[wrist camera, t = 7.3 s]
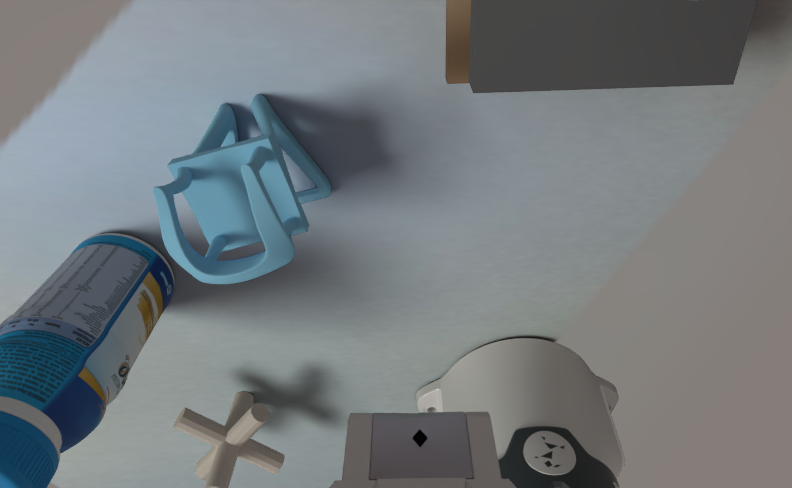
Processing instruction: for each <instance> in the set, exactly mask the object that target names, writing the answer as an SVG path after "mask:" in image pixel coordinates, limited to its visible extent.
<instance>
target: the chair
mask: <svg viewBox="0 0 792 488" xmlns="http://www.w3.org/2000/svg"><path fill="white" fill-rule="evenodd" d="M251 108H252V111H253V114H254V117H255V119H256V121H257V124H258V126H259V128H260V131H261V133H262V136H258V137H254V138H251V139H247V140H244V141H241V142H238V132H237V125H236V119H235V115H234V112H233V110H232V108H231V107H230V106H229V105H227V104H222V105H221V106H220V108H219V110H218V112H217V114H216V115H215V117H214V119H213V121H212V123H211V124H210V126H209V128H208V130H207V131H206V133H205V135H204V136H203V138H202V140H201V141H200V143H199V144H198V146H197V148H196V149H195V151H194V152H193V154H191V155H187V156H183V157H179V158H176V159H172V160H171V161H170V163H169V164H168V165H167V166H168V168H169V170H170V171H171V173H172V175H173V177H174V179H175V181H173V182H172V183H170V184H167V185H165V186H158V187H154V188H153V194H154V197H155V200H156V204H157V208H158V214H159V221H160V228H161V234H162V238H163V242H164V245H165V247H166V249H167V251H168V253H169V254H170V256H171V257H172V258H173V259H174V260H175V261H176V262H177V263H178V264H179V265H180V266H181V267H182V268H184V269H185V270H186V271H187V272H188V273H190V274H191V275H192V276H193V277H195V278H196V279H197V280H199V281H201V282H204V283H209V284H233V283H239V282H244V281H247V280H251V279H254V278H257V277H259V276H262V275H264V274H267V273H269V272H271V271H274V270H276V269H278V268H280V267H282V266H284V265H286V264H288V263H289V262H290V261H292V259H293V258H294V256H295V248H294V245H293V243H292V241H291V235H294V234H299V233H303V232H307V230H308V227H309V223H308V221H307V218H306V216H305V214H304V211H303V209H302V206H301V204H302V203H306V202H310V201H314V200H318V199H322V198H326V197H328V196H330V194H331V185H330V183H329V181H328V179H327V178H326V176H325V175H324V173H323V172H322V171H321V170H320V168H319V167H318V166H317V165H316V163H315V162H314V161H313V160H312V158H311V157H310V156H309V155H308V153H307V152H306V151H305V150H304V149H303V147H302V146H301V145H300V144H299V143H298V141H297V140H296V139H295V138H294V136H293V135H292V134H291V133H290V131H289V130H288V129H287V128H286V126H285V125H284V124H283V123H282V121H281V120H280V119H279V117H278V116H277V115H276V113H275V112H274V110H273V109H272V107H271V106H270V104H269V103H268V101H267V100H266V98H265V97H264V96H263V95H261V94H257V95H255V97H254V98H253V101H252V103H251ZM222 143H223V147H221V145H222ZM280 146H281V147H282V149H283V150H284V151H285V152H286V153H287V154H288V155H289V156H290V157H291V159H292V160H293V161H294V162H295V163H296V164H297V165H298V166H299V167H300V168H301V170H302V171H303V172H304V173H305V174H306V175H307V176H308V177H309V178H310V179H311V181H312V182H313V183H314V184H315V185H316V186H317V187H318V188H314V189H310V190H306V191H302V192H298V193H295V190H294V187H293V184H292V181H291V178H290V175H289V172H288V169H287V166H286V163H285V160H284V157H283V154H282V150H281V148H280ZM180 192H182V193H183V195H184V197H185V198H186V200H187V202H188V204H189V205H190V207H191V209H192V211H193V213H194V215H195V217H196V219H197V221H198V223H199V225H200V227H201V229H202V231H203V233H204V235H205V237H206V239H207V241H208V243H209V245H210V246H209V248H208V251H207V253H206V255H205V257H203V256H201V255H200V254H199V253H198V252H196V251H195V250H194V249H193V248H192V247H191V246H190V244H189V243H188V241H187V240H186V238H185V236H184V234H183V232H182V229H181V226H180V223H179V220H178V216H177V212H176V208H175V203H174V197H173V194H177V193H180ZM262 241H263V243H264V245H265V249H266V250H265V251H263V252H261V253H258V254H255V255H252V256H249V257H245V258H240V259H235V260H228V261H217V259H218V257H219V255H220V254H221V252H223V251H227V250H231V249H235V248H238V247H242V246H246V245H249V244H253V243H257V242H262Z"/></svg>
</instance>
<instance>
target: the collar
mask: <svg viewBox="0 0 792 488" xmlns="http://www.w3.org/2000/svg"><path fill="white" fill-rule="evenodd" d="M756 4H757V0H698V1H690V0H471V21H470V51H469V80H468V81H469V83H470V86H471V88H472V91H473V93H491V92H520V91H550V90H580V89H610V88H639V87H669V86H699V85H729V84H733V83H734V80H735V76H736V73H737V70H738V66H739V63H740V59H741V56H742V52H743V49H744V45H745V42H746V38H747V35H748V32H749V28H750V25H751V21H752V18H753V14H754V11H755V7H756Z"/></svg>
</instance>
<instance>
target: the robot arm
mask: <svg viewBox="0 0 792 488" xmlns="http://www.w3.org/2000/svg"><path fill="white" fill-rule="evenodd" d="M416 399H417V405H418V408H419V412H420V413H350V416H349V419H348V427H347V436H346V446H345V456H344V465H343V475H342V480H337V481H334V482H333V484H332V485H331V486H330V487H329V488H620V487H619V485H618V482H617V479H616V478H617V477H618V476H619V474H620V471H621V468H622V467H623V466H624V465H625V458H624V454H623V451H622V448H621V444H620V441H619V438H618V435H617V432H616V429H615V426H614V423H613V420H612V417H611V412H612V411H613V409H614V407H615V405H616V403H617V401H618V394H617V390H616V388H615V386H614V385H612V384H611V383H610V382H608V381H606V380H604V379H602V378H600V377H598V376H596V375H595V374H594V373H593V372H592V371H591V370H590V369H589V367H588V366H587V364H586V363H585V362H584V361H583V359H582V358H581V357H580V356H578V355H577V354H576V353H575V352H573V351H571V350H570V349H568V348H567V347H564V346H562V345H560V344H557V343H554V342H551V341H547V340H541V339H532V338H517V339H508V340H502V341H498V342H494V343H491V344H488V345H485V346H483V347H480V348H478V349H476V350H474V351H472V352H470V353H469V354H467V355H466V356H464V357H463V358H462V359H460V360H459V361H458V362H457V363H456V364H455V365H454V366H453V367H452V368H451V369H450V370H449V371H448V372H447V373H446V374H445V375H444V376H443V377H442V378H440V379H439V380H436V381H434V382H432V383H430V384H428V385H426V386H424V387H423V388H421V389H420V390H419V391H418V392H417V394H416Z"/></svg>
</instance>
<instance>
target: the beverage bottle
mask: <svg viewBox="0 0 792 488" xmlns="http://www.w3.org/2000/svg"><path fill="white" fill-rule="evenodd" d="M174 289H175V280H174V275H173V272H172V269H171V267H170V265H169V263H168V262H167V260H166V259H165V258H164V257H163V256H162V254H161V253H160V252H158V251H157V250H156V249H155V248H154V247H152V246H151V245H149V244H148V243H146V242H144V241H142V240H140V239H138V238H135V237H132V236H129V235H125V234H118V233H105V234H99V235H96V236H93V237H90V238H88V239H86V240H85V241H83V242H82V243H81V244H80V245H79V246H78V247H77V248H76V249H75V250H74V251H73V252H72V253H71V255H70V256H69V257H68V258H67V259H66V260H65V261H64V262H63V263H62V264H61V266H60V267H59V268H58V269H57V270H56V271H55V272H54V273H53V274H52V275H51V276H50V277H49V278H48V279H47V280H46V281H45V282H44V283H43V284H42V285H41V286H40V287H39V288H38V290H37V291H36V292H35V293H34V294H33V295H32V296H31V297H30V298H29V299H28V300H27V301H26V302H25V303H24V304H23V305H22V306H21V307H20V308H19V309H18V310H17V311H16V312H15V313H14V314H13V315H11V316H10V317H8V318H7V319H6V320H5V321H3V322H2V323H1V324H0V488H47V486H48V484H49V483H50V481H51V479H52V477H53V476H54V474H55V472H56V470H57V467H58V463H59V460H60V453H62V452H64V451H66V450H68V449H69V448H71V447H73V446H74V445H76V444H77V443H79V442H80V441H81V440H83V439H84V438H85V437H86V436H88V435H89V434H90V433H91V432H92V431H93V430H94V429H95V428H96V427H97V426H98V424H99V423H100V422H101V420H102V418H103V416H104V414H105V411H106V406H107V405H108V404H109V403H111V402H112V401H113V400H114V399H115V398H116V396H117V395H118V394H119V392H120V391H121V389H122V388H123V386H124V384H125V382H126V380H127V376H128V373H129V371H130V369H131V367H132V366H133V364H134V362H135V360H136V358H137V357H138V355H139V353H140V351H141V350H142V348H143V346H144V344H145V343H146V341H147V339H148V337H149V336H150V334H151V332H152V330H153V328H154V327H155V325H156V323H157V321H158V320H159V318H160V316H161V315H162V313H163V311H164V310H165V308H166V307H167V305H168V304H169V302H170V300H171V299H172V296H173V294H174Z"/></svg>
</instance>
